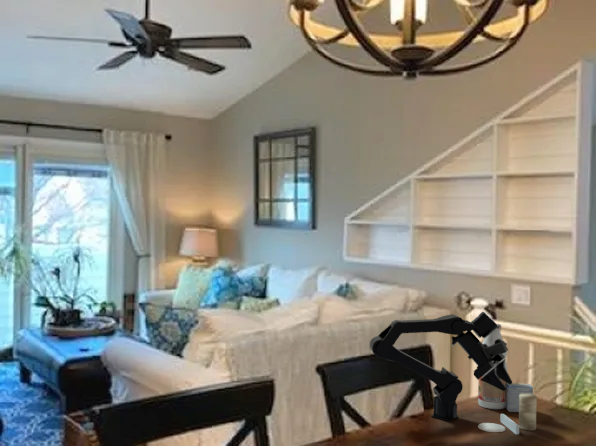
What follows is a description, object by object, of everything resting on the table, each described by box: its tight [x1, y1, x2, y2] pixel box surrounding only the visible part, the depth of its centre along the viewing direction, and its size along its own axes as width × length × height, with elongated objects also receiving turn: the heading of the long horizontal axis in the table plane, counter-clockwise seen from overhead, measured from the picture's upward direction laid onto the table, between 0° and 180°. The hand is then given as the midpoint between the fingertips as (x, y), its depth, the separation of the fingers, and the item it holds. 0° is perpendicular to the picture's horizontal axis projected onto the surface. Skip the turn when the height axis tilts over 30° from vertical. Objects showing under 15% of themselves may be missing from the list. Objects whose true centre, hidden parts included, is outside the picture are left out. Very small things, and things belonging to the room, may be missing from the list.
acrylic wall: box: [499, 413, 520, 435], centre depth 205 cm, size 12×1×2 cm, turn 5°
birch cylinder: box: [518, 393, 538, 431], centre depth 205 cm, size 5×5×10 cm
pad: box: [477, 422, 506, 433], centre depth 205 cm, size 8×8×1 cm
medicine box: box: [505, 382, 534, 413], centre depth 223 cm, size 8×4×9 cm, turn 84°
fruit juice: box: [477, 323, 508, 410], centre depth 228 cm, size 9×9×28 cm
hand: (508, 386), depth 209 cm, fingers open, 9 cm apart
